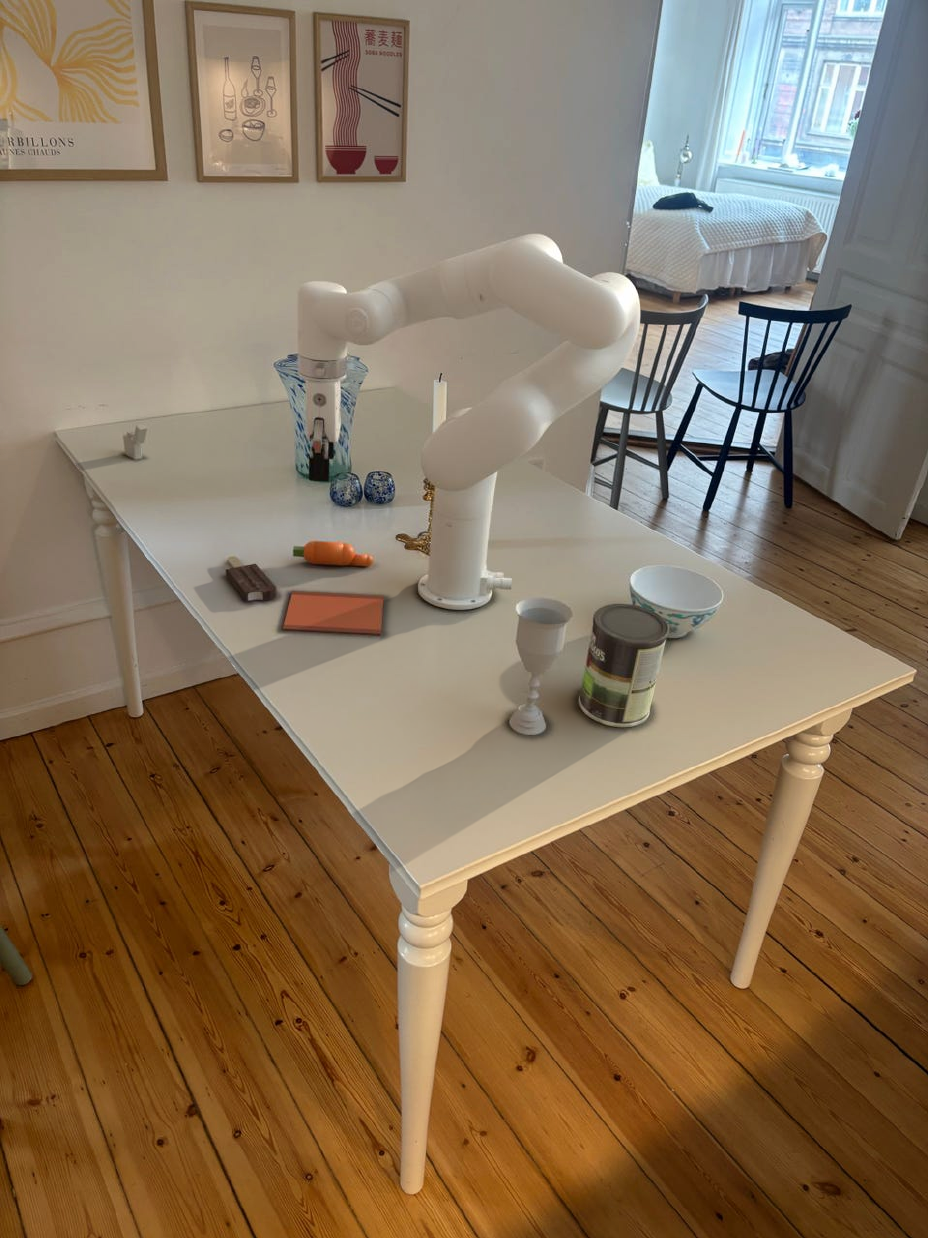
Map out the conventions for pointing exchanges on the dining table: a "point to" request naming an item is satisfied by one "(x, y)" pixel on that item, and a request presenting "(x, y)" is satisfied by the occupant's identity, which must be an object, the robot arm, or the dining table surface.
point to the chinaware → (676, 596)
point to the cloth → (334, 613)
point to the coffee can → (622, 664)
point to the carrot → (331, 554)
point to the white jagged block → (134, 442)
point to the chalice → (538, 653)
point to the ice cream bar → (250, 581)
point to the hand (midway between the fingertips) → (321, 468)
